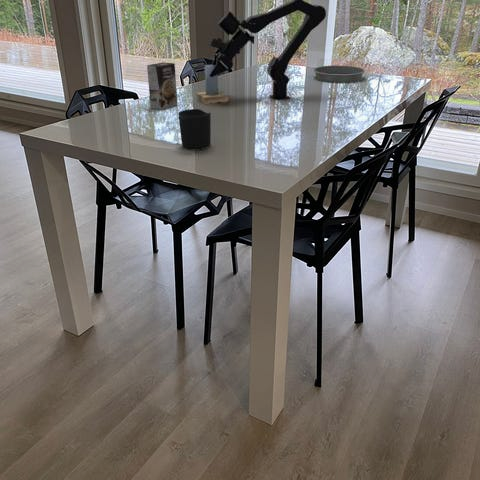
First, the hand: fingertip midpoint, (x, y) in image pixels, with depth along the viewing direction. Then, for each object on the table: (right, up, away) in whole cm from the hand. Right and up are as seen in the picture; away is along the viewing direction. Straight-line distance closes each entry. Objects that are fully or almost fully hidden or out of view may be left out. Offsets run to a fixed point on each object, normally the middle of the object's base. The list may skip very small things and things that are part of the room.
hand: (209, 74), depth 193 cm
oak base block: (+1, -9, +5) cm, 10 cm away
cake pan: (+60, +12, +43) cm, 75 cm away
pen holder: (-1, -38, -46) cm, 60 cm away
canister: (+1, -7, +4) cm, 8 cm away
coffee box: (-17, -14, -4) cm, 23 cm away
